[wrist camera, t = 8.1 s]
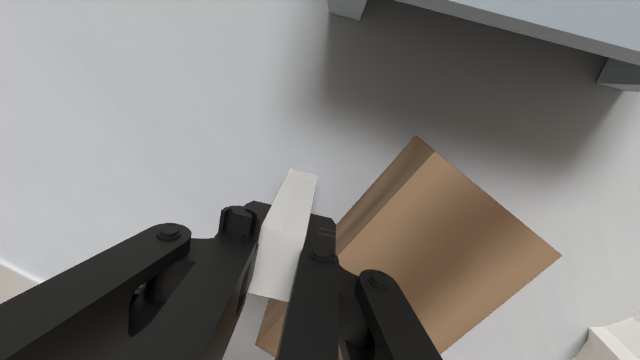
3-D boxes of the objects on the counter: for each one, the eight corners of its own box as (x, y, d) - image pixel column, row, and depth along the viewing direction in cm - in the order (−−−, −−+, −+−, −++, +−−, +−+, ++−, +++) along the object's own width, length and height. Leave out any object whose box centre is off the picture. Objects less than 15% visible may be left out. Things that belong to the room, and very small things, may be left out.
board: (270, 296, 21) (255, 344, 18) (414, 134, 17) (435, 151, 13) (362, 356, 22) (366, 414, 19) (516, 218, 18) (562, 255, 15)
